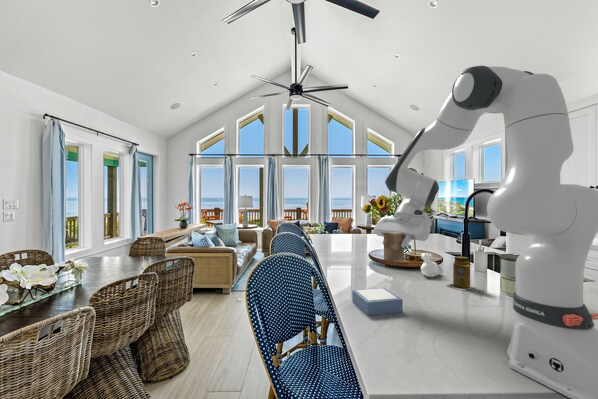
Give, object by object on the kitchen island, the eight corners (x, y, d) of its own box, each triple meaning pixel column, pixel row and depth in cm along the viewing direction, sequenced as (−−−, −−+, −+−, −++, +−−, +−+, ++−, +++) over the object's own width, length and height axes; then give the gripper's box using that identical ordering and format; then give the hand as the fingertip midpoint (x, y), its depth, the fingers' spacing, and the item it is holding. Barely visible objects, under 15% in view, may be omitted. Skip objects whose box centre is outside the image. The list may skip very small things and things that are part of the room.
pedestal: (402, 311, 90) (402, 298, 90) (367, 315, 88) (367, 301, 88) (383, 298, 102) (383, 287, 102) (352, 301, 99) (352, 289, 99)
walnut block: (404, 260, 101) (403, 232, 101) (396, 262, 98) (396, 233, 98) (391, 258, 105) (391, 231, 105) (383, 260, 102) (383, 232, 102)
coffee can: (495, 288, 113) (495, 253, 113) (526, 290, 110) (525, 254, 110) (506, 297, 103) (506, 258, 103) (540, 299, 100) (540, 259, 100)
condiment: (474, 287, 114) (474, 257, 114) (464, 291, 110) (463, 260, 110) (456, 282, 121) (456, 254, 121) (445, 286, 116) (445, 257, 116)
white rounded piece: (435, 277, 136) (422, 256, 142) (448, 270, 131) (433, 249, 137) (421, 282, 129) (408, 259, 135) (434, 274, 124) (419, 252, 130)
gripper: (379, 210, 114) (364, 237, 108) (430, 212, 98) (417, 243, 92) (385, 221, 117) (371, 247, 111) (436, 224, 101) (423, 255, 95)
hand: (392, 245), depth 101 cm, fingers closed on walnut block, 5 cm apart
